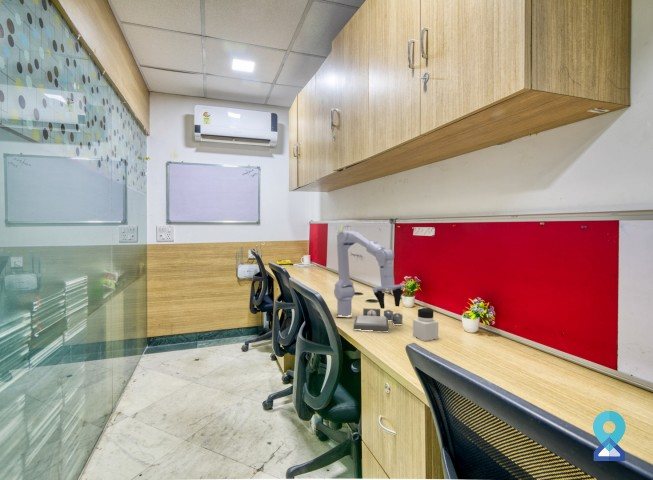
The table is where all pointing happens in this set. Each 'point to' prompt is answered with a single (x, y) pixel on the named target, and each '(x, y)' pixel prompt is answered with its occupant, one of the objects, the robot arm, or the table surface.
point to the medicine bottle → (425, 325)
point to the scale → (371, 321)
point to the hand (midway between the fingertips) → (390, 307)
